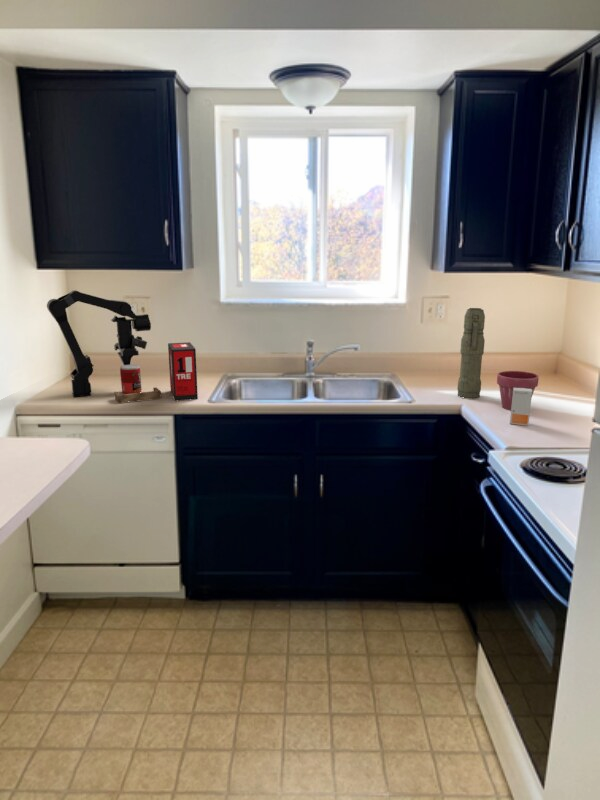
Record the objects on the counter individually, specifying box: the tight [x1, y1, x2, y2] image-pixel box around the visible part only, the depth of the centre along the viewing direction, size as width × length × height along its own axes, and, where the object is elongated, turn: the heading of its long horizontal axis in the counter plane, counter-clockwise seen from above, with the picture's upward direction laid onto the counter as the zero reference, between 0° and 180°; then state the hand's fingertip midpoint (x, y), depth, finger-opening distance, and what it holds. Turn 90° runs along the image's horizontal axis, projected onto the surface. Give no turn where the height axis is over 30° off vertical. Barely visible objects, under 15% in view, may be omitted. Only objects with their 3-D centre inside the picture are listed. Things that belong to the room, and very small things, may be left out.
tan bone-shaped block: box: [114, 387, 162, 404], centre depth 227 cm, size 16×7×3 cm, turn 117°
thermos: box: [457, 307, 486, 399], centre depth 228 cm, size 9×12×35 cm
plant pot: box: [496, 370, 539, 411], centre depth 214 cm, size 14×14×13 cm
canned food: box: [119, 364, 143, 395], centre depth 236 cm, size 8×8×11 cm
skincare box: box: [509, 388, 533, 427], centre depth 195 cm, size 6×4×12 cm
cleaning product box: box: [167, 342, 199, 402], centre depth 231 cm, size 16×9×20 cm, turn 18°
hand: (127, 369), depth 240 cm, fingers closed
